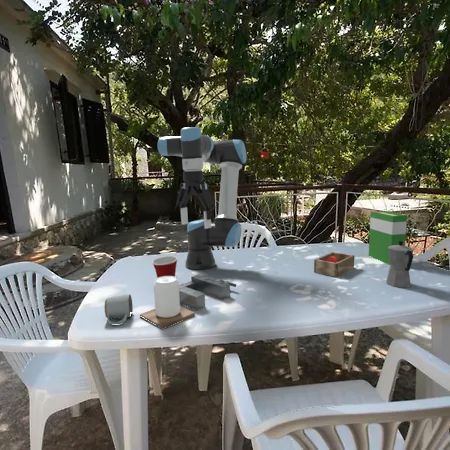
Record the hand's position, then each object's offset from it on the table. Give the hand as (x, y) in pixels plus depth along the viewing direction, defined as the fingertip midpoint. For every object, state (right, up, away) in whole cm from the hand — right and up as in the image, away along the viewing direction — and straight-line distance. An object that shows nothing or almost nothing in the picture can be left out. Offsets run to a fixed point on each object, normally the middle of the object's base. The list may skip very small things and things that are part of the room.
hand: (195, 226), depth 129 cm
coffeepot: (+82, -24, +6) cm, 86 cm away
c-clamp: (+3, -27, +1) cm, 27 cm away
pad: (-8, -30, -17) cm, 36 cm away
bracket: (+61, -21, +27) cm, 70 cm away
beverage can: (-8, -29, -17) cm, 35 cm away
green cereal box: (+93, -18, +42) cm, 104 cm away
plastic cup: (-14, -26, +11) cm, 31 cm away
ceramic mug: (-24, -31, -18) cm, 43 cm away
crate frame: (+63, -21, +28) cm, 71 cm away
